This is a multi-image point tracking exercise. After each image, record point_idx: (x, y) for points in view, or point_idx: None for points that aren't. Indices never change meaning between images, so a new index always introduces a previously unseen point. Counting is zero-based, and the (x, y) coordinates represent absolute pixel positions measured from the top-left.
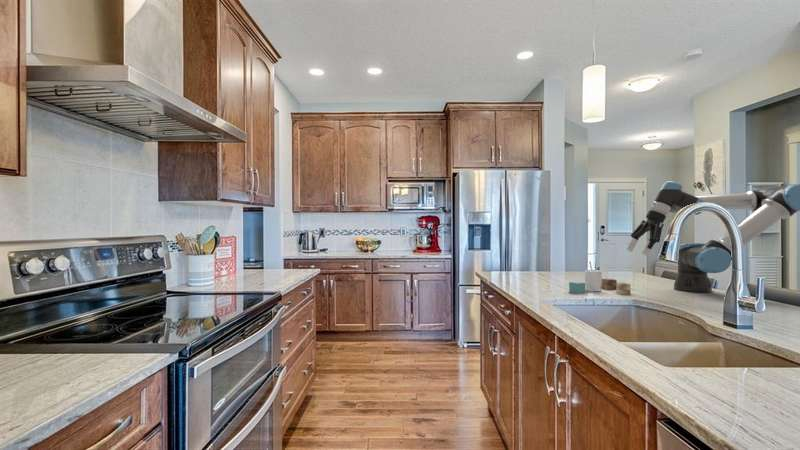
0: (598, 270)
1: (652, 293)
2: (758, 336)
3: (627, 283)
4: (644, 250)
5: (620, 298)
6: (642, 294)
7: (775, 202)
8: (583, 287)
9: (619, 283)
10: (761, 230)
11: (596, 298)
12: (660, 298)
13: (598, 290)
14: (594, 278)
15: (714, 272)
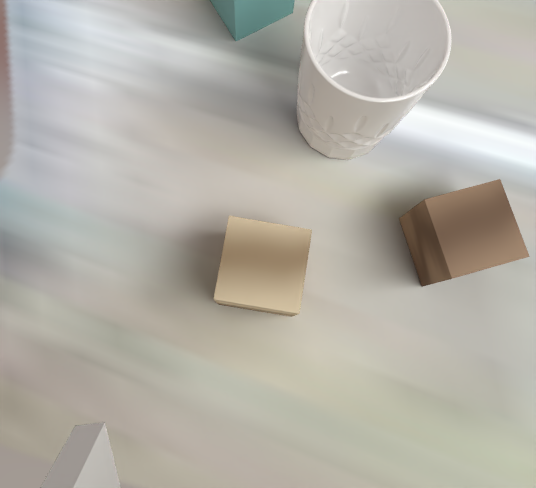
0: (421, 87)
1: (287, 482)
2: None
3: (248, 289)
4: (48, 484)
5: (62, 185)
6: (232, 388)
7: None
8: (226, 4)
9: (239, 227)
10: None
11: (51, 49)
12: None
13: (301, 130)
14: (300, 57)
15: None
